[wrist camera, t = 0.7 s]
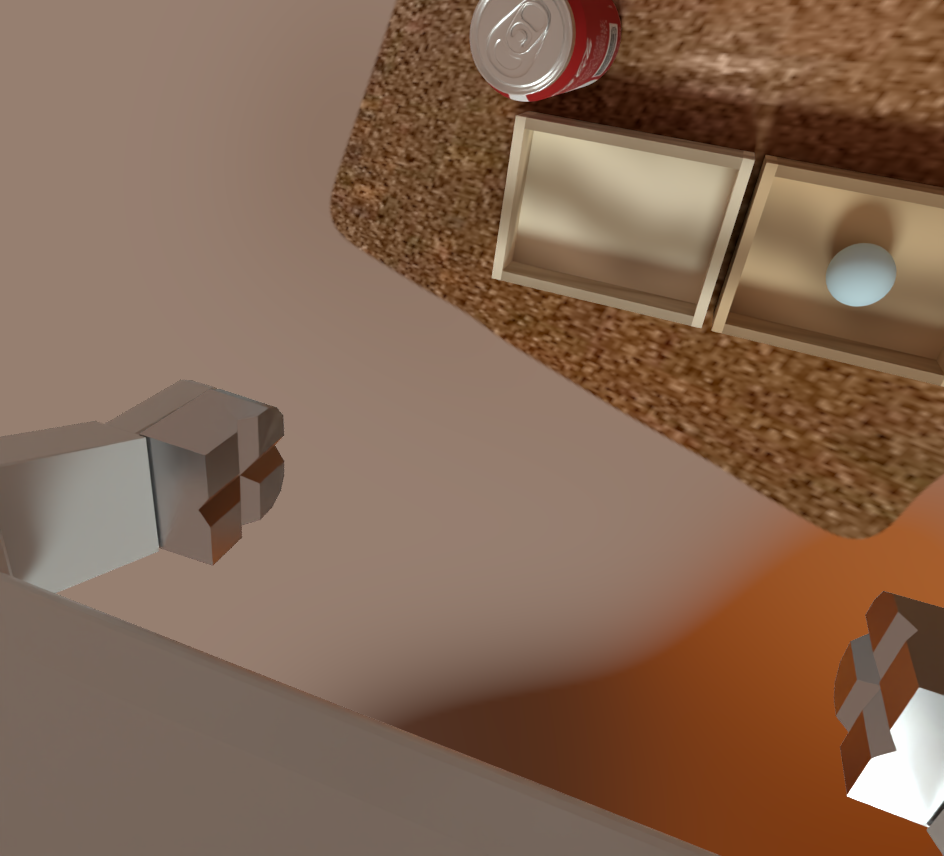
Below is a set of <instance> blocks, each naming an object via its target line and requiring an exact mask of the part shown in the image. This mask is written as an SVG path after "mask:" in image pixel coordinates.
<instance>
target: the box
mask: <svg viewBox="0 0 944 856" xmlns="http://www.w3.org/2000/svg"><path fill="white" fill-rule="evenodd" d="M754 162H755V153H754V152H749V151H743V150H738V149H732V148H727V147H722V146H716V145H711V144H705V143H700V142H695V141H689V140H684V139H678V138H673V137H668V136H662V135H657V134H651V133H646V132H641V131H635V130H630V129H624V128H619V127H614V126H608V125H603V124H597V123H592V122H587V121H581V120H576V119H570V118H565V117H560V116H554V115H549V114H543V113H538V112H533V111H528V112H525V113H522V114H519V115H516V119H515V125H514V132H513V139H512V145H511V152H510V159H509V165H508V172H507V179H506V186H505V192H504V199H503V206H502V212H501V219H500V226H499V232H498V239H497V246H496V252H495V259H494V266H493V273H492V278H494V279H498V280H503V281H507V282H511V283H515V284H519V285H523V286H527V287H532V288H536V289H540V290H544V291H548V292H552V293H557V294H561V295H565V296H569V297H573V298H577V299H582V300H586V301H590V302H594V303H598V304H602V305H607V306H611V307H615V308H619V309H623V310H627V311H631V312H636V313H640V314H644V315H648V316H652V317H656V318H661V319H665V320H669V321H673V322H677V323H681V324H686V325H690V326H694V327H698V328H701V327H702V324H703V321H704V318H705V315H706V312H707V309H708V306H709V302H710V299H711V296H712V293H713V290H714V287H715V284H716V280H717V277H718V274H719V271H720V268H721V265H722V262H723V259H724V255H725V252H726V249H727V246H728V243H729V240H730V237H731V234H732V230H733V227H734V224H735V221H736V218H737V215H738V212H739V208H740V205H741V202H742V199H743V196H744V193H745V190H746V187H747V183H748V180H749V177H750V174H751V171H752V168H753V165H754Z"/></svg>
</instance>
